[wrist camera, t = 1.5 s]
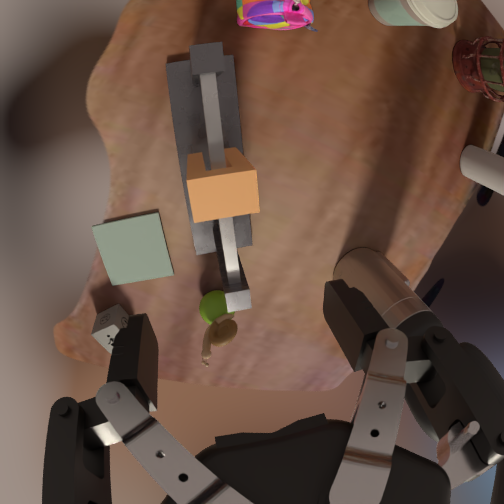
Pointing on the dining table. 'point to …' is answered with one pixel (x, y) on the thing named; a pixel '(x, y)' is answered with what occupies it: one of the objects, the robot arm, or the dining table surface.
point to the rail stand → (211, 153)
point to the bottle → (483, 167)
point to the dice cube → (109, 325)
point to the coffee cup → (414, 12)
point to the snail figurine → (216, 322)
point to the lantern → (480, 66)
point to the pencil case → (275, 14)
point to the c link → (222, 187)
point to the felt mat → (133, 249)
